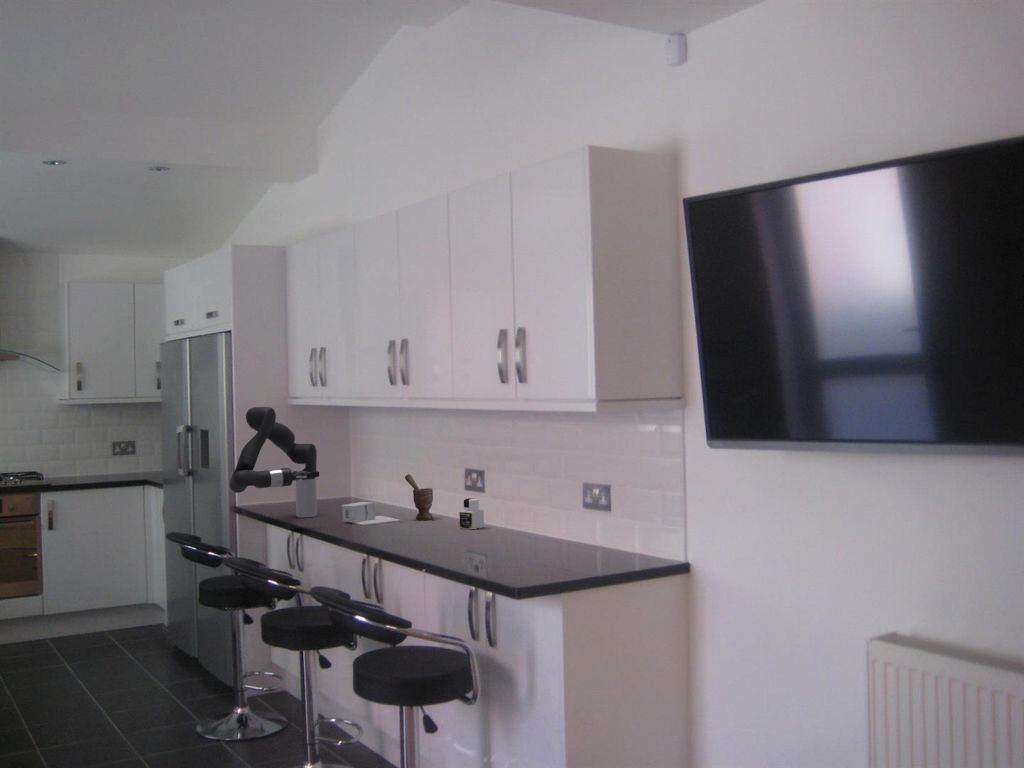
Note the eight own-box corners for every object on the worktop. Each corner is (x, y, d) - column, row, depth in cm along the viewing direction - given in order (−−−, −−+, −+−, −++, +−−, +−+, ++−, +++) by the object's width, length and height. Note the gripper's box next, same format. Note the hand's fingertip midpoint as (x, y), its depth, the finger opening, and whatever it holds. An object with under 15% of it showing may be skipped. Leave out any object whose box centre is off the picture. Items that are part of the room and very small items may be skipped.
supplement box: (352, 505, 449) (374, 502, 459) (341, 504, 454) (363, 501, 463) (353, 523, 449) (375, 519, 459) (342, 521, 454) (364, 517, 464)
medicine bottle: (459, 528, 425) (458, 499, 425) (472, 526, 431) (471, 497, 431) (472, 529, 421) (471, 500, 420) (484, 527, 426) (483, 498, 426)
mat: (343, 521, 460) (343, 519, 460) (381, 516, 470) (381, 515, 470) (362, 525, 443) (362, 524, 443) (401, 521, 453) (401, 519, 453)
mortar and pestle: (414, 521, 450) (412, 475, 450) (404, 520, 457) (402, 474, 457) (437, 519, 457) (435, 473, 457) (427, 517, 464) (425, 472, 464)
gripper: (284, 469, 429) (324, 466, 438) (273, 467, 440) (312, 464, 449) (285, 488, 429) (325, 484, 438) (273, 485, 440) (313, 481, 449)
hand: (318, 473), depth 443 cm, fingers closed
